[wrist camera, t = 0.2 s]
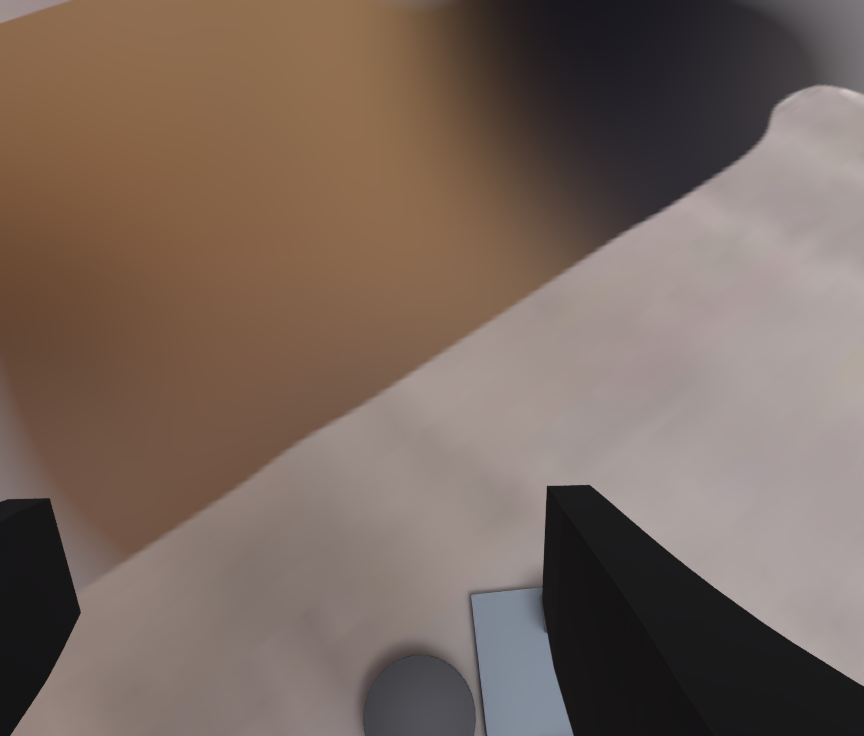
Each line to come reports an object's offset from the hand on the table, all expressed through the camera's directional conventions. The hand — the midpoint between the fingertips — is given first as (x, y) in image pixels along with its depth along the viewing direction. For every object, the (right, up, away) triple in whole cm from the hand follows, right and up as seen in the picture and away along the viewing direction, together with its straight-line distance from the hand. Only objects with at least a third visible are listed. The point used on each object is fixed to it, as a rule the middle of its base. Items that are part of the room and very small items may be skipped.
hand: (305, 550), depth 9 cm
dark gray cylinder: (+1, -17, +26) cm, 31 cm away
